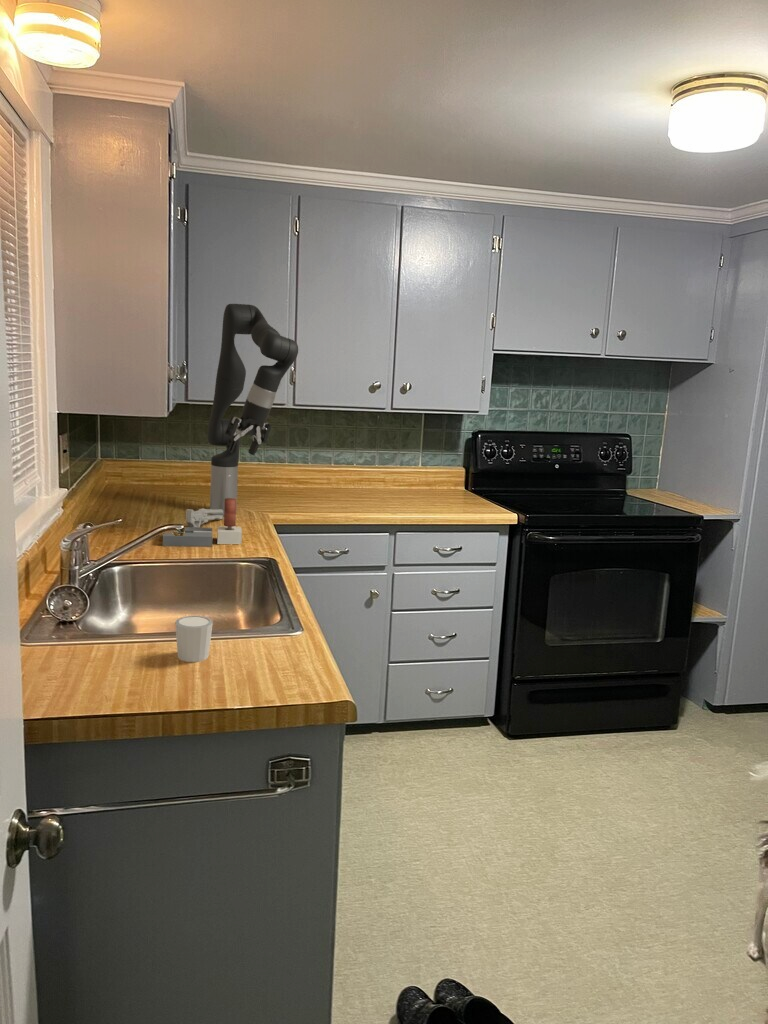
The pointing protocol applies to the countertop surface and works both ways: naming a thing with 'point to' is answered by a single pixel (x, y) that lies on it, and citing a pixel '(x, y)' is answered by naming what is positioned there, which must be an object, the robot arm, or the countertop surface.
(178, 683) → the countertop surface
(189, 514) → the gun
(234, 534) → the block
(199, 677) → the countertop surface
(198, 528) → the grey flat block
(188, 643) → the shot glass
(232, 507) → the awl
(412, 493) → the countertop surface
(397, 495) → the countertop surface
